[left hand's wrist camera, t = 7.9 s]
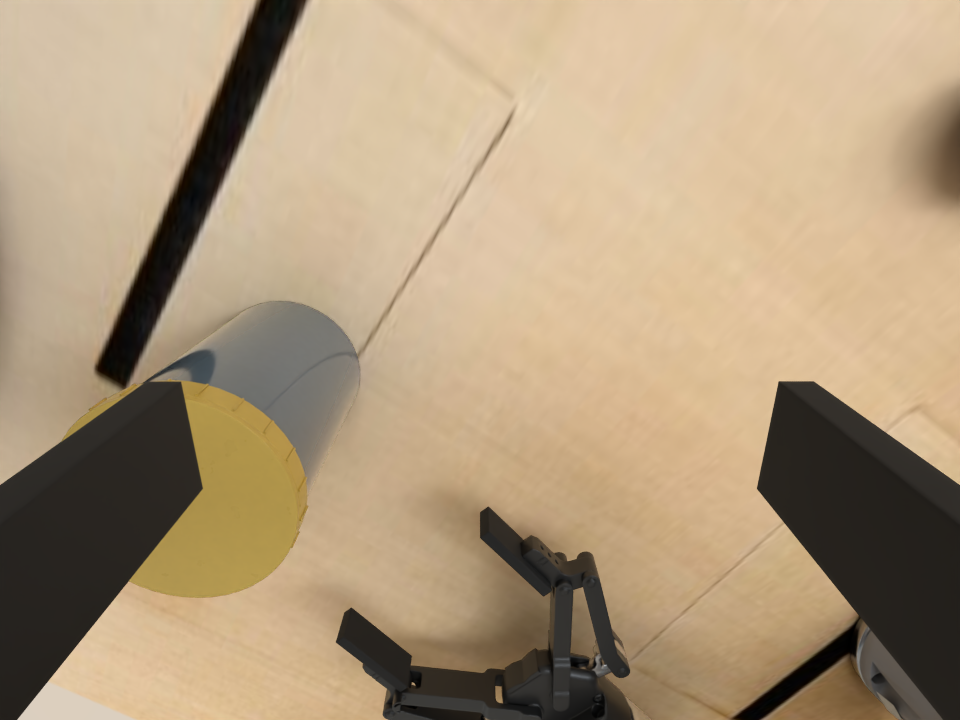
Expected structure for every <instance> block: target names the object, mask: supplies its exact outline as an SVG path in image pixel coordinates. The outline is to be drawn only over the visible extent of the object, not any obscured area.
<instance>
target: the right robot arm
mask: <svg viewBox="0 0 960 720" xmlns="http://www.w3.org/2000/svg"><path fill="white" fill-rule="evenodd" d="M480 538H481V539H482V540H483V541H484V542H485V543H486V544H487V545H489V546H490V547H491V548H492V549H493V550H494V551H495V552H496V553H497V554H498V555H499V556H500V557H501V558H503V559H504V560H505V561H506V562H507V563H508V564H509V565H510V566H511V567H512V568H513V569H514V570H515V571H517V572H518V573H519V574H520V575H521V576H522V577H523V578H524V579H525V580H526V581H527V582H528V583H529V584H531V585H532V586H533V587H534V588H535V589H536V590H537V591H538V592H539V593H540V594H541V595H542V596H543V597H544V596H545V595H547V594H548V593H550V592H551V597H550V629H549V632H548V649H544V650H539V651H538V650H537V649H536V648H535V649H534V650H532V651H531V652H529V653H528V654H527V655H526V656H525V657H524V658H523V659H522V660H520V661H517V662H514V663H512V664H510V665H509V666H507V667H506V668H505V670H500V669H487V670H486V672H485V673H476V672H467V671H458V670H448V669H439V668H429V667H420V666H411V658H412V656H411V655H410V654H409V653H407V652H406V651H405V650H404V649H402V648H401V647H400V646H399V645H397V644H396V643H395V642H394V641H392V640H391V639H390V638H389V637H387V636H386V635H385V634H384V633H382V632H381V631H380V630H379V629H377V628H376V627H375V626H374V625H373V624H371V623H370V622H369V621H368V620H366V619H365V618H364V617H363V616H361V615H360V614H359V613H358V612H356V611H355V610H354V609H353V608H350V609H349V610H347V611H346V612H345V613H344V616H343V619H342V623H341V626H340V630H339V633H338V637H337V640H336V643H337V644H339V645H340V646H341V647H343V648H344V649H345V650H346V651H348V652H349V653H350V654H352V655H353V656H354V657H356V658H357V659H358V660H359V661H361V662H362V663H363V669H364V670H365V672H366V673H367V674H369V675H370V676H372V678H374V679H375V680H376V681H378V682H379V683H380V684H382V685H383V686H384V687H385V688H387V691H386V697H385V703H384V710H383V716H384V717H385V718H386V719H388V720H652V719H650V718H649V717H648V716H647V715H646V714H645V713H644V712H643V711H642V710H641V709H639V708H638V707H637V706H636V705H635V704H634V703H633V702H632V701H631V700H630V699H628V698H627V697H626V696H625V695H623V693H622V692H621V691H620V690H619V689H618V688H617V687H616V686H615V685H614V684H613V683H612V682H611V681H609V680H608V679H607V678H606V677H605V676H604V675H606V674H608V673H610V672H612V673H613V674H614V675H615V676H616V677H619V678H624V677H626V676H628V675H629V673H630V668H629V665H628V661H627V658H626V654H625V651H624V647H623V644H622V641H621V640H620V639H619V638H618V636H617V635H616V634H615V633H614V631H613V630H612V629H611V625H610V621H609V616H608V612H607V608H606V604H605V600H604V596H603V591H602V587H601V583H600V579H599V576H598V572H597V568H596V565H595V561H594V557H593V555H592V554H591V553H590V552H582V553H580V554H579V555H578V556H577V559H575V560H572V561H567V558H566V556H565V554H563V553H560V552H558V553H553V552H552V551H551V550H550V549H549V548H548V547H546V546H545V545H544V544H543V543H542V542H541V541H540V540H539V539H538V538H536V537H534V536H532V535H531V536H529V537H528V538H526V539H525V540H523V539H522V538H521V537H520V536H519V535H518V534H517V533H516V532H515V531H514V530H513V529H511V528H510V527H509V526H508V525H507V524H506V523H505V522H504V521H503V520H502V519H501V518H500V517H499V516H498V515H497V514H496V513H495V512H494V511H493V510H492V509H491V508H490V507H487V508H486V509H484V510H483V511H481V512H480ZM581 587H583V588H584V592H585V596H586V600H587V604H588V608H589V612H590V616H591V620H592V624H593V628H594V632H595V636H596V641H595V643H596V645H595V646H594V647H593V653H594V657H593V658H592V659H590V658H589V657H587V656H583V655H578V654H572V653H570V647H571V626H572V606H573V590H574V589H578V588H581ZM850 658H851V662H852V665H853V667H854V669H855V671H856V672H857V674H858V675H859V677H860V678H861V680H862V681H863V682H864V684H865V685H866V687H867V688H868V689H869V690H870V691H871V692H872V693H873V694H874V695H875V697H876V698H877V699H878V700H879V701H880V702H882V703H883V704H884V706H885V707H886V709H887V710H888V711H889V712H890V713H891V714H893V715H894V716H895V717H896V718H897V719H899V720H902V719H903V720H943V719H942V718H941V717H940V715H939V714H938V713H937V712H936V710H935V709H934V708H933V707H932V705H931V704H930V703H929V702H928V701H927V699H926V698H925V697H924V696H923V694H922V693H921V692H920V691H919V689H918V688H917V687H916V686H915V684H914V683H913V682H912V681H911V679H910V678H909V677H908V676H907V674H906V673H905V672H904V671H903V669H902V668H901V667H900V666H899V664H898V663H897V662H896V661H895V660H894V658H893V657H892V656H891V655H890V653H889V652H888V651H887V650H886V648H885V647H884V646H883V645H882V643H881V642H880V641H879V640H878V638H877V637H876V636H875V635H874V633H873V632H872V631H871V630H870V628H869V627H868V626H867V625H866V624H865V622H864V621H863V620H862V619H861V618H860V620H859V621H858V623H857V625H856V627H855V629H854V631H853V634H852V638H851V642H850ZM412 682H413V683H415V685H416V686H414V685H411V684H412ZM495 686H502V699H503V703H498V702H497V701H496V699H495Z"/></svg>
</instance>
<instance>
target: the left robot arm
mask: <svg viewBox="0 0 960 720" xmlns="http://www.w3.org/2000/svg"><path fill="white" fill-rule="evenodd" d="M202 489H203V486H202V481H201V476H200V471H199V466H198V461H197V457H196V452H195V447H194V442H193V437H192V432H191V427H190V422H189V417H188V413H187V408H186V403H185V398H184V393H183V388H182V383H181V382H145V383H143V384H142V385H141V386H139V387H138V388H136V389H135V390H134V391H132V392H131V393H129V394H128V395H127V396H125V397H124V398H122V399H121V400H120V401H118V402H117V403H115V404H114V405H112V406H111V407H110V408H108V409H107V410H105V411H104V412H103V413H101V414H100V415H98V416H97V417H96V418H94V419H93V420H91V421H90V422H89V423H87V424H86V425H84V426H83V427H81V428H80V429H79V430H77V431H76V432H74V433H73V434H72V435H70V436H69V437H67V438H66V439H65V440H63V441H62V442H60V443H59V444H58V445H56V446H55V447H53V448H52V449H50V450H49V451H48V452H46V453H45V454H43V455H42V456H41V457H39V458H38V459H36V460H35V461H34V462H32V463H31V464H29V465H28V466H27V467H25V468H24V469H22V470H21V471H19V472H18V473H17V474H15V475H14V476H12V477H11V478H10V479H8V480H7V481H5V482H4V483H3V484H1V485H0V720H17V719H18V718H19V717H20V715H21V714H22V713H23V712H24V710H25V709H26V708H27V707H28V705H29V704H30V703H31V702H32V701H33V699H34V698H35V697H36V695H37V694H38V693H39V692H40V691H41V689H42V688H43V687H44V686H45V684H46V683H47V682H48V681H49V679H50V678H51V677H52V676H53V674H54V673H55V672H56V671H57V669H58V668H59V667H60V666H61V664H62V663H63V662H64V661H65V660H66V658H67V657H68V656H69V655H70V653H71V652H72V651H73V650H74V648H75V647H76V646H77V645H78V643H79V642H80V641H81V640H82V638H83V637H84V636H85V635H86V633H87V632H88V631H89V630H90V628H91V627H92V626H93V625H94V624H95V622H96V621H97V620H98V619H99V617H100V616H101V615H102V614H103V612H104V611H105V610H106V609H107V607H108V606H109V605H110V604H111V602H112V601H113V600H114V599H115V597H116V596H117V595H118V594H119V592H120V591H121V590H122V589H123V587H124V586H125V585H126V584H127V583H128V581H129V580H130V579H131V578H132V576H133V575H134V574H135V573H136V571H137V570H138V569H139V568H140V566H141V565H142V564H143V563H144V561H145V560H146V559H147V558H148V556H149V555H150V554H151V553H152V551H153V550H154V549H155V548H156V546H157V545H158V544H159V543H160V542H161V540H162V539H163V538H164V537H165V535H166V534H167V533H168V532H169V530H170V529H171V528H172V527H173V525H174V524H175V523H176V522H177V520H178V519H179V518H180V517H181V515H182V514H183V513H184V512H185V510H186V509H187V508H188V507H189V506H190V504H191V503H192V502H193V501H194V499H195V498H196V497H197V496H198V494H199V493H200V492H201V491H202ZM757 489H758V491H759V492H760V493H761V494H762V496H763V497H764V498H765V499H766V501H767V502H768V503H769V504H770V506H771V507H772V508H773V509H774V510H775V512H776V513H777V514H778V515H779V517H780V518H781V519H782V520H783V522H784V523H785V524H786V525H787V527H788V528H789V529H790V530H791V532H792V533H793V534H794V535H795V537H796V538H797V539H798V540H799V542H800V543H801V544H802V545H803V546H804V548H805V549H806V550H807V551H808V553H809V554H810V555H811V556H812V558H813V559H814V560H815V561H816V563H817V564H818V565H819V566H820V568H821V569H822V570H823V571H824V573H825V574H826V575H827V576H828V578H829V579H830V580H831V581H832V583H833V584H834V585H835V586H836V587H837V589H838V590H839V591H840V592H841V594H842V595H843V596H844V597H845V599H846V600H847V601H848V602H849V604H850V605H851V606H852V607H853V609H854V610H855V611H856V612H857V614H858V615H859V616H860V617H861V619H862V620H863V621H864V622H865V624H866V625H867V626H868V627H869V628H870V630H871V631H872V632H873V633H874V635H875V636H876V637H877V638H878V640H879V641H880V642H881V643H882V645H883V646H884V647H885V648H886V650H887V651H888V652H889V653H890V655H891V656H892V657H893V658H894V660H895V661H896V662H897V663H898V664H899V666H900V667H901V668H902V669H903V671H904V672H905V673H906V674H907V676H908V677H909V678H910V679H911V681H912V682H913V683H914V684H915V686H916V687H917V688H918V689H919V691H920V692H921V693H922V694H923V696H924V697H925V698H926V699H927V701H928V702H929V703H930V704H931V705H932V707H933V708H934V709H935V710H936V712H937V713H938V714H939V715H940V717H941V718H942V719H943V720H960V485H959V484H957V483H956V482H955V481H953V480H952V479H950V478H949V477H948V476H946V475H945V474H943V473H942V472H941V471H939V470H938V469H936V468H935V467H933V466H932V465H931V464H929V463H928V462H926V461H925V460H924V459H922V458H921V457H919V456H918V455H917V454H915V453H914V452H912V451H911V450H910V449H908V448H907V447H905V446H904V445H902V444H901V443H900V442H898V441H897V440H895V439H894V438H893V437H891V436H890V435H888V434H887V433H886V432H884V431H883V430H881V429H880V428H879V427H877V426H876V425H874V424H873V423H871V422H870V421H869V420H867V419H866V418H864V417H863V416H862V415H860V414H859V413H857V412H856V411H855V410H853V409H852V408H850V407H849V406H848V405H846V404H845V403H843V402H842V401H840V400H839V399H838V398H836V397H835V396H833V395H832V394H831V393H829V392H828V391H826V390H825V389H824V388H822V387H821V386H819V385H818V384H817V383H815V382H779V383H778V388H777V393H776V398H775V403H774V408H773V413H772V417H771V422H770V427H769V432H768V437H767V442H766V447H765V452H764V457H763V461H762V466H761V471H760V476H759V481H758V486H757Z"/></svg>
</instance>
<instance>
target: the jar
mask: <svg viewBox="0 0 960 720" xmlns="http://www.w3.org/2000/svg"><path fill="white" fill-rule="evenodd" d="M168 379H171V380H179V381H190V382H196V383H202V384H209V386H213V387H216V388H219V389H222V390H224V391H227V392H229V393H231V394H234V395H236V396H238V397H240V398H241V399H242V398H244V400H245V401H247V402H249V403H250V404H252V405H253V406H254V407H256V408H257V409H259V410H260V411H262V412H263V413H264V414H265V415H266V416H267V417H269V418H270V419H271V420H273V421H274V423H275V424H276V425H277V426H278V427H279V428H280V430H281V431H282V432H283V433H284V434H285V435H286V437H287V438H288V440H289V441H290V443H291V444H292V446H293V447H295V448H296V449H295V451H296V453H297V455H298V457H299V459H300V462H301V464H302V467H303V470H304V474H305V477H307V480H306V483H307V497H308V495H309V493H310V491H311V489H312V487H313V485H314V483H315V481H316V479H317V476H318V474H319V472H320V470H321V468H322V466H323V464H324V462H325V460H326V458H327V456H328V454H329V452H330V450H331V448H332V445H333V443H334V441H335V439H336V437H337V435H338V433H339V431H340V429H341V427H342V425H343V423H344V421H345V419H346V417H347V414H348V412H349V410H350V408H351V406H352V404H353V402H354V400H355V398H356V395H357V392H358V389H359V383H360V367H359V361H358V358H357V354H356V352H355V349H354V347H353V345H352V343H351V342H350V340H349V338H348V337H347V335H346V334H345V333H344V332H343V330H342V329H341V328H340V327H339V326H338V325H337V324H336V323H335V322H334V321H332V320H331V319H330V318H329V317H327V316H326V315H324V314H322V313H321V312H319V311H317V310H315V309H313V308H311V307H308V306H305V305H302V304H299V303H293V302H285V301H274V302H266V303H261V304H258V305H255V306H252V307H250V308H248V309H246V310H244V311H243V312H241V313H240V314H239V315H237V316H236V317H234V318H233V319H232V320H230V321H229V322H227V323H226V324H225V325H223V326H222V327H220V328H219V329H218V330H216V331H215V332H213V333H212V334H211V335H209V336H208V337H206V338H205V339H204V340H202V341H201V342H199V343H198V344H197V345H195V346H194V347H192V348H191V349H190V350H188V351H187V352H185V353H184V354H183V355H181V356H180V357H178V358H177V359H176V360H174V361H173V362H171V363H170V364H169V365H167V366H166V367H164V368H163V369H162V370H160V371H159V372H157V373H156V374H155V375H153V376H152V377H151V378H149V379H148V380H146V381H145V382H153V381H164V380H168ZM145 382H144V383H145Z"/></svg>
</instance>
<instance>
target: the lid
mask: <svg viewBox="0 0 960 720" xmlns="http://www.w3.org/2000/svg"><path fill="white" fill-rule="evenodd" d="M153 382H181V383H182V388H183V393H184V398H185V403H186V408H187V413H188V417H189V422H190V427H191V432H192V437H193V442H194V447H195V452H196V457H197V461H198V466H199V471H200V476H201V481H202V486H203V489H202V491H201V492H200V493H199V494H198V496H197V497H196V498H195V499H194V501H193V502H192V503H191V504H190V506H189V507H188V508H187V509H186V510H185V512H184V513H183V514H182V515H181V517H180V518H179V519H178V520H177V522H176V523H175V524H174V525H173V527H172V528H171V529H170V530H169V532H168V533H167V534H166V535H165V537H164V538H163V539H162V540H161V542H160V543H159V544H158V545H157V546H156V548H155V549H154V550H153V551H152V553H151V554H150V555H149V556H148V558H147V559H146V560H145V561H144V563H143V564H142V565H141V566H140V568H139V569H138V570H137V571H136V573H135V574H134V575H133V576H132V578H131V579H130V580H129V582H132V583H134V584H136V585H138V586H141V587H143V588H146V589H149V590H152V591H155V592H159V593H163V594H167V595H173V596H180V597H192V598H204V597H216V596H222V595H228V594H231V593H235V592H238V591H241V590H243V589H246V588H248V587H251V586H253V585H254V584H256V583H258V582H259V581H261V580H263V579H264V578H265V577H267V576H268V575H269V574H271V573H272V572H273V571H274V570H275V569H276V568H277V567H278V566H279V565H280V564H281V562H282V561H283V560H284V558H285V557H286V555H287V554H288V552H289V550H290V548H292V547H293V545H294V543H295V541H296V539H297V537H298V535H299V528H300V526H301V524H302V522H303V519H304V515H305V513H306V511H307V508H308V506H307V483H306V480H307V477H305V474H304V470H303V467H302V464H301V462H300V459H299V457H298V455H297V453H296V451H295V449H296V448H295V447H293V446H292V444H291V443H290V441H289V440H288V438H287V437H286V435H285V434H284V433H283V432H282V431H281V430H280V428H279V427H278V426H277V425H276V424H275V423H274V421H273V420H271V419H270V418H269V417H267V416H266V415H265V414H264V413H263V412H262V411H260V410H259V409H257V408H256V407H254V406H253V405H252V404H250V403H249V402H247V401H245V400H244V398H242V399H241V398H240V397H238V396H236V395H234V394H231V393H229V392H227V391H224V390H222V389H219V388H216V387H213V386H209V384H202V383H196V382H190V381H179V380H171V379H168V380H164V381H153ZM142 384H143V383H142ZM142 384H138V385H136V384H133V385H132V386H130V387H129V388H126V389H124V390H122V391H120V392H118V393H116V394H114V395H113V396H111V397H110V398H108V399H107V398H105V399H103V400H102V401H100V402H99V403H97V404H96V405H95V406H93V407H92V408H90V409H89V411H90V412H88V413H87V414H85V415H84V416H83V417H81V418H80V419H79V420H78V421H77V422H76V423H75V424H74V425H73V426H72V427H71V428H70V429H69V431H68V432H67V434H66V435H65V436H64V438H63V439H62V441H63V440H65V439H66V438H67V437H69V436H70V435H72V434H73V433H74V432H76V431H77V430H79V429H80V428H81V427H83V426H84V425H86V424H87V423H89V422H90V421H91V420H93V419H94V418H96V417H97V416H98V415H100V414H101V413H103V412H104V411H105V410H107V409H108V408H110V407H111V406H112V405H114V404H115V403H117V402H118V401H120V400H121V399H122V398H124V397H125V396H127V395H128V394H129V393H131V392H132V391H134V390H135V389H136V388H138V387H139V386H141V385H142Z"/></svg>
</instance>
